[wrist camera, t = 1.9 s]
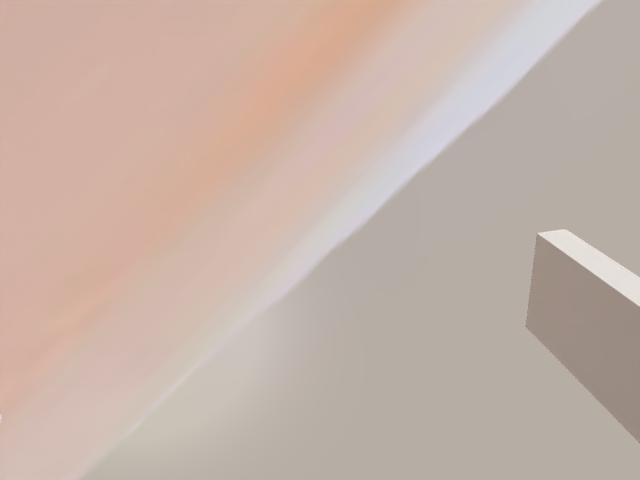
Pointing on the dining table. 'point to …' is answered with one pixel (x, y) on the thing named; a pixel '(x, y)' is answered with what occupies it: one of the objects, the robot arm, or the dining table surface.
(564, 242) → the robot arm
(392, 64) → the dining table surface
